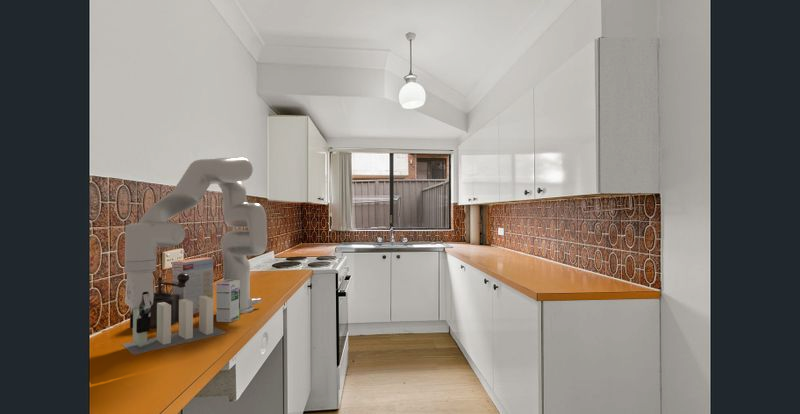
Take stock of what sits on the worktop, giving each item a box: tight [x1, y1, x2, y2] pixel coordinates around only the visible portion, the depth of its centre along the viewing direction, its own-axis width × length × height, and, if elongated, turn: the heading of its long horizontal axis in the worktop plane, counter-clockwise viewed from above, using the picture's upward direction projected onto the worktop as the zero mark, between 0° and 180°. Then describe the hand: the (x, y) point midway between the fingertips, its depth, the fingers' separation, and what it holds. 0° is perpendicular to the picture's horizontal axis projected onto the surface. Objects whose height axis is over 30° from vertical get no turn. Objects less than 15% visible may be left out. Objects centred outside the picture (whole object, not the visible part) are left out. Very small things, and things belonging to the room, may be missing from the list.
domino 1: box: [132, 305, 148, 345], centre depth 110 cm, size 2×6×11 cm, turn 48°
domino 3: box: [178, 299, 194, 339], centre depth 118 cm, size 2×6×11 cm, turn 48°
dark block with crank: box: [150, 273, 189, 329], centre depth 133 cm, size 16×11×18 cm
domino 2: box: [156, 302, 172, 344], centre depth 114 cm, size 2×6×11 cm, turn 48°
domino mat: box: [122, 326, 227, 355], centre depth 117 cm, size 25×12×1 cm, turn 138°
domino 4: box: [198, 296, 214, 335], centre depth 123 cm, size 2×6×11 cm, turn 48°
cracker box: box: [171, 257, 214, 317], centre depth 146 cm, size 14×6×21 cm, turn 161°
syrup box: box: [215, 279, 241, 323], centre depth 137 cm, size 6×6×14 cm
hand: (139, 328), depth 110 cm, fingers closed on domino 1, 5 cm apart
